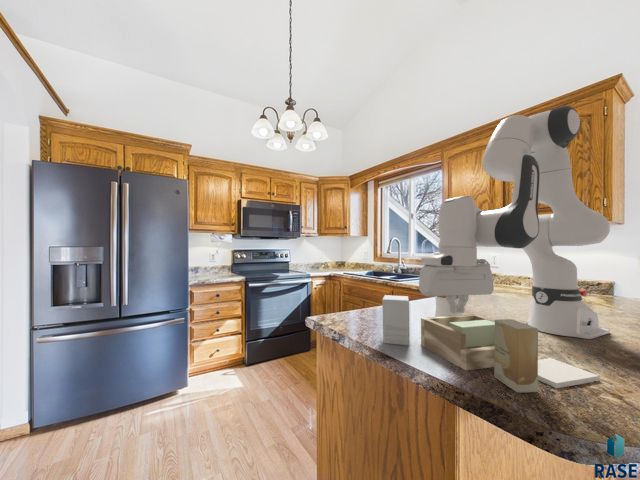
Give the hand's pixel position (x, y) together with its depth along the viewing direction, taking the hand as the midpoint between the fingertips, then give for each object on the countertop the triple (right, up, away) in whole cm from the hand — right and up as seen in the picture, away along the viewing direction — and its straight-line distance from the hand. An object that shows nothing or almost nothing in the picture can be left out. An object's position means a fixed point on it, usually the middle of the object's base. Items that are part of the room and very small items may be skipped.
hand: (457, 312), depth 68 cm
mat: (+15, -10, -11) cm, 21 cm away
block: (+5, -8, +1) cm, 10 cm away
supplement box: (-13, -11, +10) cm, 20 cm away
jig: (+4, -11, +1) cm, 11 cm away
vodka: (+9, -12, +24) cm, 28 cm away
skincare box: (+4, -10, -15) cm, 19 cm away
